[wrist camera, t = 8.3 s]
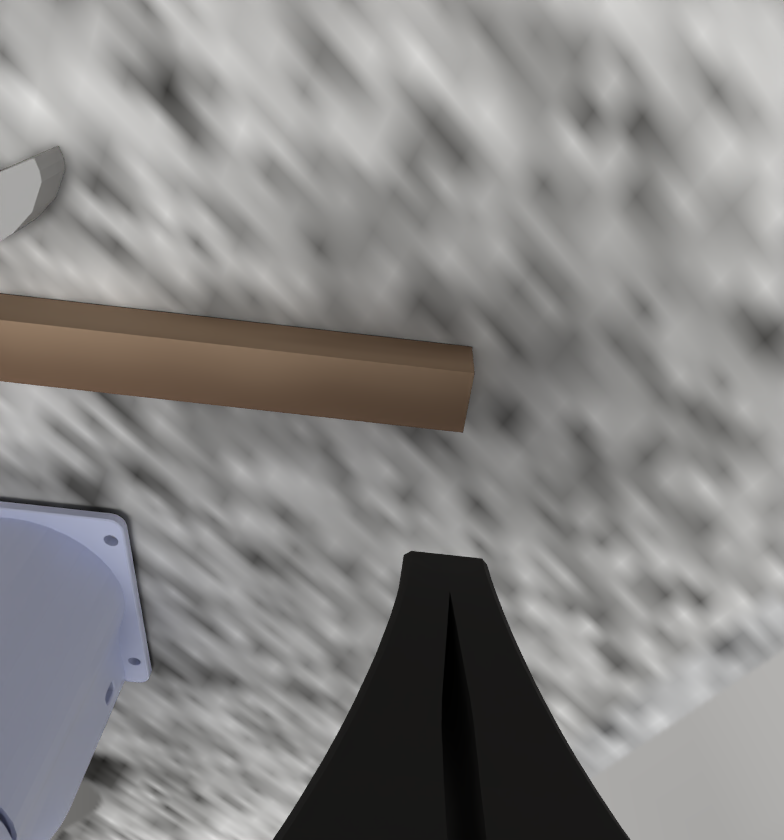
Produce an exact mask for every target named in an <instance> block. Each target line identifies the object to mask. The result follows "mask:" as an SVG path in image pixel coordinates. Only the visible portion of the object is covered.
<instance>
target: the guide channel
mask: <svg viewBox="0 0 784 840" xmlns="http://www.w3.org/2000/svg"><path fill="white" fill-rule="evenodd" d="M473 378H474V363H473V352H472V347H468V346H459V345H450V344H442V343H433V342H424V341H415V340H406V339H397V338H388V337H379V336H371V335H362V334H353V333H344V332H335V331H326V330H317V329H309V328H300V327H291V326H282V325H273V324H264V323H255V322H246V321H238V320H229V319H220V318H211V317H202V316H193V315H184V314H176V313H167V312H158V311H149V310H140V309H131V308H122V307H113V306H105V305H96V304H87V303H78V302H69V301H60V300H51V299H43V298H34V297H25V296H16V295H7V294H0V381H4V382H13V383H22V384H31V385H40V386H49V387H58V388H67V389H76V390H85V391H94V392H103V393H112V394H121V395H130V396H139V397H148V398H157V399H166V400H175V401H184V402H193V403H202V404H211V405H220V406H229V407H238V408H247V409H256V410H265V411H274V412H283V413H292V414H301V415H310V416H319V417H328V418H337V419H346V420H355V421H364V422H373V423H382V424H391V425H400V426H409V427H418V428H427V429H436V430H445V431H454V432H463V430H464V424H465V419H466V414H467V409H468V404H469V399H470V394H471V389H472V383H473Z"/></svg>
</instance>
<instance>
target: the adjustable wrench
mask: <svg viewBox="0 0 784 840" xmlns="http://www.w3.org/2000/svg"><path fill="white" fill-rule="evenodd" d="M64 172H65V162H64V157H63V155H62V153H61V150H60V148H59V146H57V147H55V148H52V149H50V150H47V151H45V152H43V153H40V154H38V155H36V156H33V157H31V158H29V159H26V160H24V161H22V162H19V163H17V164H15V165H12V166H10V167H8V168H5V169H3V170H1V171H0V241H2V240H3V239H5V238H6V237H8V236H10V235H11V234H13V233H14V232H16V231H17V230H19V229H21V228H22V227H24V226H25V225H27V224H28V223H30V222H32V221H33V220H35V219H36V218H38V216H39V215H40V214H41V213H42V212H43V211H44V210H45V209H46V208H47V207H48V205H49V204H50V203H51V202H52V201H53V200H54V199H55V198H56V196H57V193H58V190H59V187H60V184H61V181H62V178H63V175H64Z"/></svg>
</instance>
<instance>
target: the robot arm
mask: <svg viewBox="0 0 784 840" xmlns="http://www.w3.org/2000/svg"><path fill="white" fill-rule="evenodd" d="M110 535H111V536H110ZM112 536H114V537H115V538H114V537H112ZM151 671H152V669H151V663H150V657H149V651H148V645H147V640H146V634H145V628H144V622H143V616H142V610H141V605H140V599H139V593H138V587H137V581H136V575H135V570H134V564H133V558H132V552H131V546H130V540H129V534H128V529H127V524H126V522H125V521H124V520H123V518H122V517H120V516H118V515H116V514H112V513H103V512H94V511H85V510H75V509H66V508H57V507H48V506H39V505H30V504H20V503H11V502H2V501H0V840H50V839H51V837H52V836H53V835H54V834H55V833H56V831H57V830H58V828H59V827H60V826H61V824H62V822H63V821H64V819H65V817H66V815H67V813H68V812H69V809H70V807H71V805H72V802H73V800H74V798H75V796H76V793H77V791H78V789H79V786H80V784H81V782H82V779H83V777H84V775H85V772H86V770H87V768H88V765H89V763H90V761H91V758H92V756H93V754H94V751H95V749H96V747H97V744H98V742H99V740H100V737H101V735H102V733H103V730H104V728H105V726H106V723H107V721H108V719H109V716H110V714H111V712H112V709H113V707H114V705H115V702H116V700H117V698H118V695H119V693H120V691H121V688H122V686H123V684H124V681H131V682H145V681H147V680H148V679H149V677H150V675H151ZM273 840H630V838H629V837H628V836H627V834H626V833H625V832H624V830H623V829H622V828H621V826H620V825H619V823H618V822H617V820H616V819H615V817H614V816H613V814H612V813H611V811H610V810H609V808H608V807H607V805H606V804H605V802H604V801H603V799H602V798H601V796H600V795H599V793H598V792H597V790H596V789H595V787H594V785H593V784H592V782H591V781H590V779H589V777H588V776H587V774H586V772H585V771H584V769H583V768H582V766H581V764H580V763H579V761H578V760H577V758H576V756H575V755H574V753H573V751H572V750H571V748H570V746H569V744H568V743H567V741H566V739H565V737H564V736H563V734H562V732H561V730H560V729H559V727H558V725H557V723H556V721H555V719H554V718H553V716H552V714H551V712H550V710H549V708H548V706H547V705H546V703H545V701H544V699H543V697H542V695H541V693H540V691H539V689H538V687H537V685H536V683H535V681H534V679H533V677H532V675H531V673H530V671H529V669H528V667H527V664H526V662H525V660H524V658H523V656H522V654H521V652H520V650H519V647H518V645H517V643H516V641H515V639H514V636H513V634H512V632H511V629H510V627H509V624H508V622H507V620H506V617H505V615H504V612H503V610H502V607H501V605H500V602H499V599H498V597H497V594H496V591H495V588H494V586H493V583H492V580H491V577H490V573H489V570H488V567H487V564H486V563H485V562H484V561H483V559H481V558H471V557H462V556H453V555H444V554H434V553H425V552H416V551H410V552H409V553H407V554H405V555H404V557H403V564H402V571H401V577H400V584H399V589H398V593H397V597H396V600H395V603H394V606H393V610H392V613H391V616H390V619H389V621H388V624H387V627H386V629H385V632H384V635H383V637H382V640H381V642H380V645H379V648H378V650H377V653H376V655H375V658H374V660H373V662H372V664H371V666H370V669H369V671H368V673H367V675H366V677H365V679H364V682H363V684H362V686H361V688H360V690H359V692H358V695H357V697H356V699H355V701H354V703H353V705H352V707H351V709H350V711H349V713H348V715H347V717H346V719H345V721H344V723H343V724H342V726H341V728H340V730H339V732H338V734H337V736H336V737H335V739H334V741H333V743H332V745H331V746H330V748H329V750H328V752H327V754H326V755H325V757H324V759H323V761H322V762H321V764H320V766H319V767H318V769H317V771H316V772H315V774H314V776H313V777H312V779H311V781H310V782H309V784H308V786H307V787H306V789H305V791H304V792H303V794H302V796H301V797H300V799H299V801H298V802H297V804H296V805H295V807H294V808H293V810H292V812H291V813H290V815H289V816H288V818H287V819H286V821H285V822H284V824H283V825H282V827H281V828H280V830H279V831H278V833H277V834H276V836H275V837H274V839H273Z"/></svg>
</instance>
